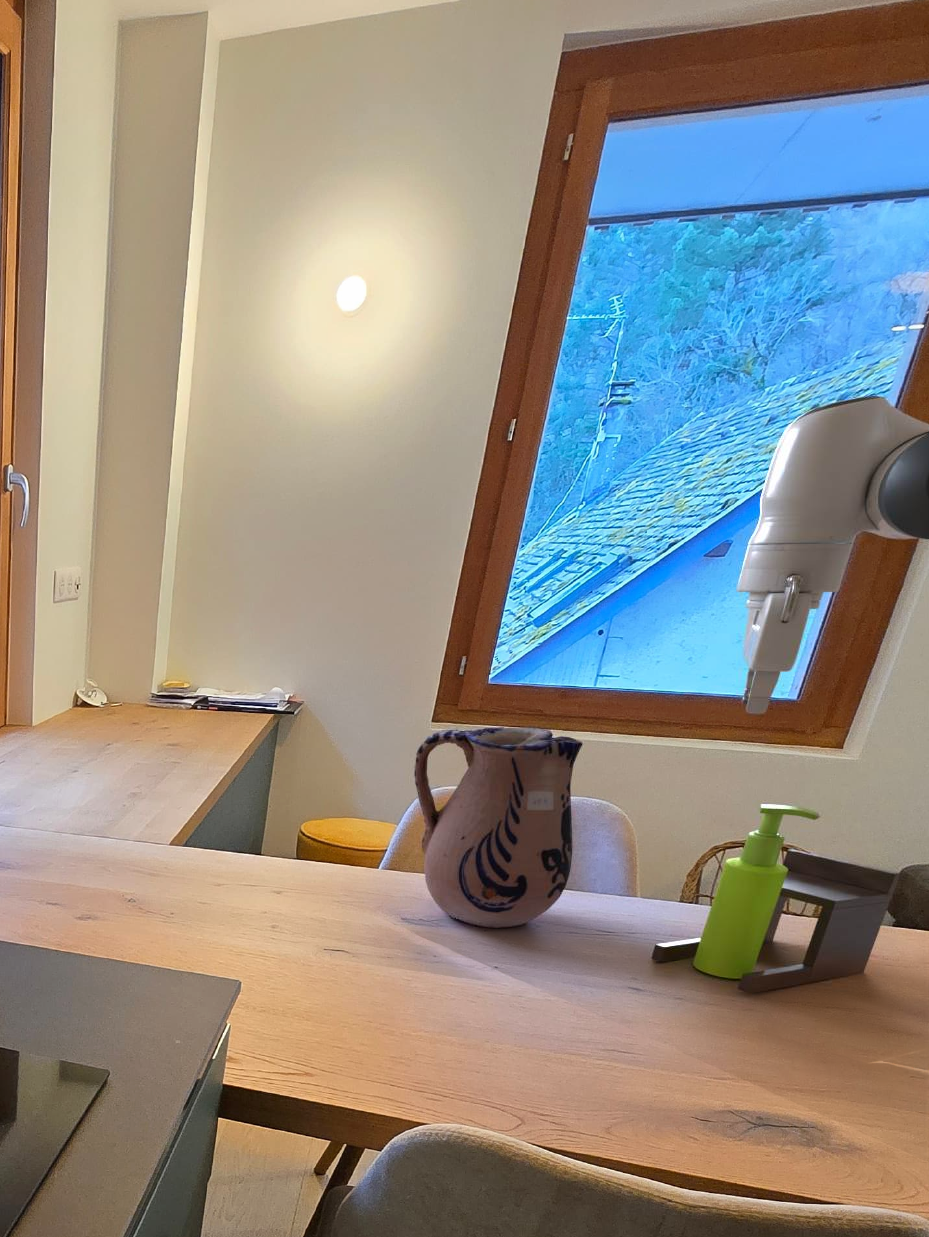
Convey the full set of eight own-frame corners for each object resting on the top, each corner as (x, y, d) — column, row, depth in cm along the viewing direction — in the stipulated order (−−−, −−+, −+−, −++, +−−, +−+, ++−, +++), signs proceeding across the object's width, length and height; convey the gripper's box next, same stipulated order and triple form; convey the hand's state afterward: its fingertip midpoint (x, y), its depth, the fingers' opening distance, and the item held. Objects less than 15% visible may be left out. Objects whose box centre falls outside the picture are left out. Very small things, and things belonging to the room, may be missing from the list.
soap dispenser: (763, 984, 121) (823, 816, 112) (692, 972, 124) (745, 808, 115) (761, 967, 125) (818, 804, 116) (693, 955, 128) (743, 797, 120)
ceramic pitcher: (558, 949, 133) (609, 753, 122) (383, 926, 141) (416, 740, 130) (553, 905, 147) (597, 726, 136) (394, 887, 155) (424, 716, 144)
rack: (863, 973, 124) (900, 873, 119) (747, 993, 118) (782, 888, 113) (762, 942, 134) (792, 849, 130) (650, 959, 128) (678, 862, 123)
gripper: (839, 574, 100) (795, 721, 105) (818, 574, 116) (781, 702, 121) (759, 574, 103) (720, 716, 109) (750, 575, 119) (716, 699, 124)
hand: (752, 709), depth 115 cm, fingers open, 8 cm apart
